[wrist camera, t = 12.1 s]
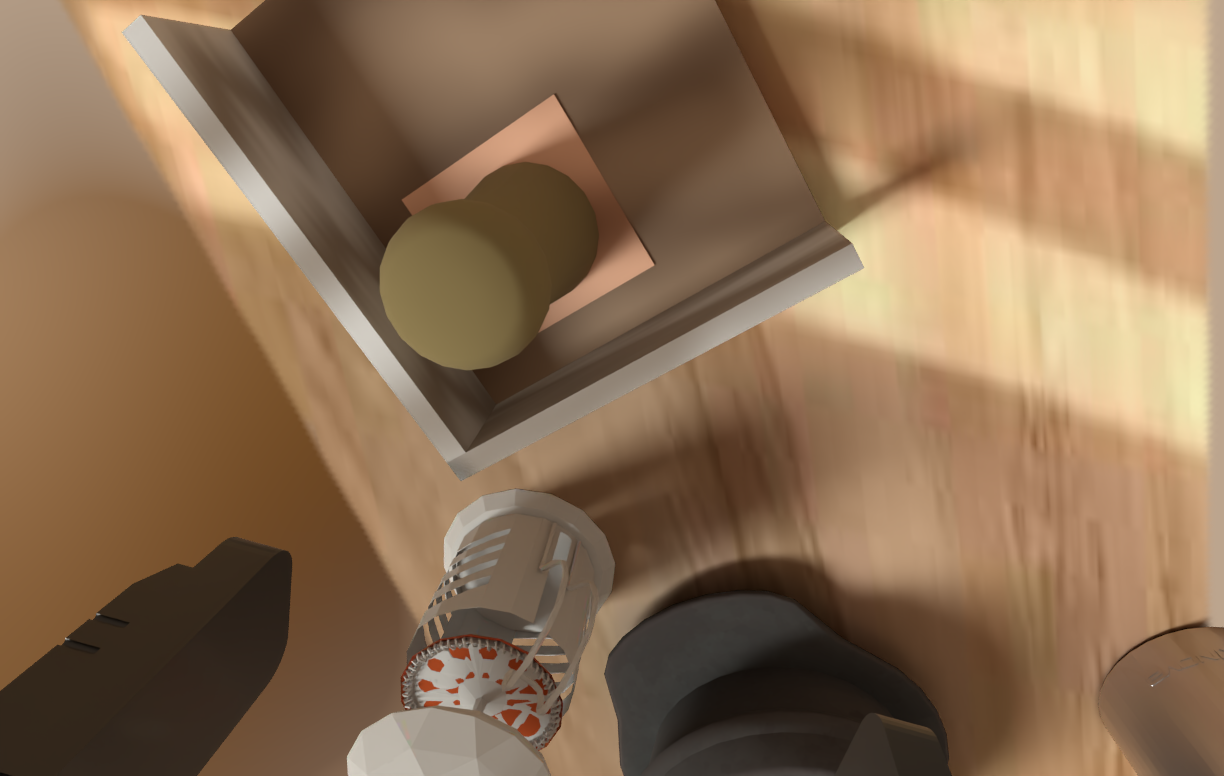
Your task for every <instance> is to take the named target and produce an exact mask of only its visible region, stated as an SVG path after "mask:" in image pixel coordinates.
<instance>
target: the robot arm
mask: <svg viewBox="0 0 1224 776" xmlns="http://www.w3.org/2000/svg"><path fill="white" fill-rule="evenodd" d="M291 576H292V558H291V555H290V553H289V552H288V551H285V550H281V549H278V548H275V547H271V546H267V545H263V544H260V543H256V542H252V541H249V540H245V539H242V538H238V537H232V538H229V539H227V540H225V541H224V542H222V543H221V544H220V545H219V546H217V547H216V548H215V549H214V550H213V551H212V552H211V553H209V554H208V555H207V556H206V557H205V558H204V559H203V560H201V561H200V562H199V563H198V564H197V565H196V566H195V567H193V568H192V567H188V566H185V565H181V564H176V565H174V566H171V567H169V568H167V569H165V570H163V571H160V572H158V573H156V574H154V575H152V576H150V577H147V578H145V579H143V580H140V581H138V582H136V583H134V584H132V585H131V586H130V587H128V588H127V589H126V590H125V591H124V592H122V593H121V594H120V595H119V596H117V597H116V598H115V599H113V600H112V601H111V602H110V603H108V604H107V605H106V606H105V607H104V608H102V609H101V610H100V611H99V612H97V614H96V617H95V618H94V619H93V620H90V619H89V620H87V621H86V622H85V623H84V624H83V625H81V626H80V627H79V628H78V629H76V630H75V631H74V632H73V633H71V634H70V635H69V636H68V637H66V640H65V642H64V643H63V644H62V645H61V646H60V645H57V646H55V647H54V648H53V649H52V650H50V651H49V652H48V653H47V654H45V655H44V656H43V657H42V658H41V659H39V660H38V661H37V662H35V663H34V664H33V665H32V666H31V667H29V668H28V669H27V670H26V671H25V672H23V673H22V674H21V675H19V676H18V677H17V678H16V679H15V680H13V681H12V682H11V683H10V684H8V685H7V686H6V687H5V688H3V689H2V690H1V691H0V776H197V775H198V774H199V773H200V771H201V770H202V769H203V767H204V766H205V765H206V763H207V762H208V761H209V759H210V758H211V757H212V756H213V754H214V753H215V752H216V751H217V749H218V748H219V747H220V745H221V744H222V743H223V742H224V740H225V739H226V738H227V736H228V735H229V734H230V733H231V731H232V730H233V729H234V727H235V726H236V725H237V723H238V722H239V721H240V720H241V718H242V717H243V716H244V714H245V713H246V712H247V711H248V709H249V708H250V707H251V705H252V704H253V703H254V701H255V700H256V699H257V698H258V696H259V695H260V693H261V692H262V691H263V690H264V689H265V687H266V686H267V684H268V683H269V682H270V680H271V679H272V677H273V676H274V674H275V672H276V670H277V668H278V666H279V664H280V662H281V659H282V656H283V654H284V651H285V647H286V644H287V639H288V627H289V609H290V592H291ZM1098 705H1099V712H1100V717H1101V719H1102V721H1103V723H1104V725H1105V727H1106V729H1107V730H1108V732H1109V733H1110V735H1111V736H1112V738H1113V739H1114V741H1115V742H1116V744H1117V745H1118V747H1119V748H1120V749H1121V751H1122V752H1123V754H1124V755H1125V757H1126V758H1127V760H1128V761H1129V763H1130V764H1131V766H1132V767H1133V769H1134V770H1135V772H1136V773H1137V775H1138V776H1224V628H1222V627H1221V628H1220V627H1201V628H1192V629H1185V630H1181V631H1177V632H1173V633H1169V634H1165V635H1163V636H1160V637H1158V638H1156V639H1153V640H1151V641H1148V642H1146V643H1145V644H1143V645H1141V646H1140V647H1138V648H1136V649H1135V650H1133V651H1131V652H1130V653H1129V654H1128V655H1126V656H1125V657H1124V658H1123V659H1122V660H1121V661H1119V662H1118V663H1117V664H1116V665H1115V667H1114V668H1113V669H1112V670H1111V672H1110V673H1109V674H1108V676H1107V677H1106V679H1105V681H1104V683H1103V686H1102V688H1101V690H1100V696H1099V702H1098ZM835 776H952V775H951V772H950V770H949V767H948V764H947V762H946V759H945V756H944V754H943V751H942V749H941V746H940V743H939V741H938V739H937V737H936V735H935V734H934V732H933V731H932V730H931V729H929V728H927V727H923V726H920V725H916V724H912V723H909V722H905V721H901V720H898V719H894V718H890V717H887V716H883V715H879V714H876V713H870V714H868V715H866V716H865V718H864V719H863V720H862V722H861V724H860V726H859V728H858V730H857V732H856V734H855V736H854V738H853V740H852V742H851V744H850V746H849V748H848V750H847V752H846V754H845V756H844V758H843V760H842V762H841V764H840V766H839V768H838V770H837V772H836V774H835Z"/></svg>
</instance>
